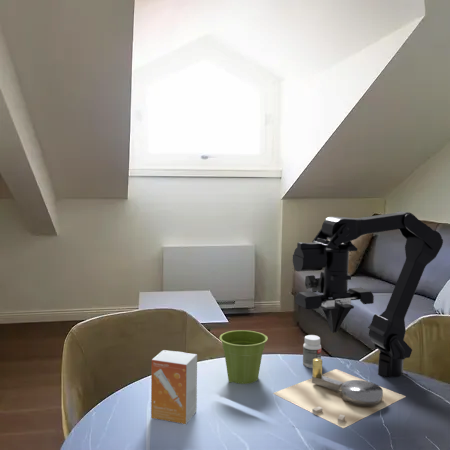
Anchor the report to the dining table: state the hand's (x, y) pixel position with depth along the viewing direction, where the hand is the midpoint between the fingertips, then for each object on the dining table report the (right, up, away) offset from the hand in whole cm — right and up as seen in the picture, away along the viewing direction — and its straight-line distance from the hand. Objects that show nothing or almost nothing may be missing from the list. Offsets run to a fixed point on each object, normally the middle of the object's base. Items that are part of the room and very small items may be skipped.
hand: (333, 332), depth 122 cm
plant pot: (-22, -13, +2) cm, 26 cm away
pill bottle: (-3, -12, +11) cm, 17 cm away
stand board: (0, -14, -7) cm, 15 cm away
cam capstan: (+1, -12, -6) cm, 14 cm away
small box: (-37, -15, -15) cm, 43 cm away
